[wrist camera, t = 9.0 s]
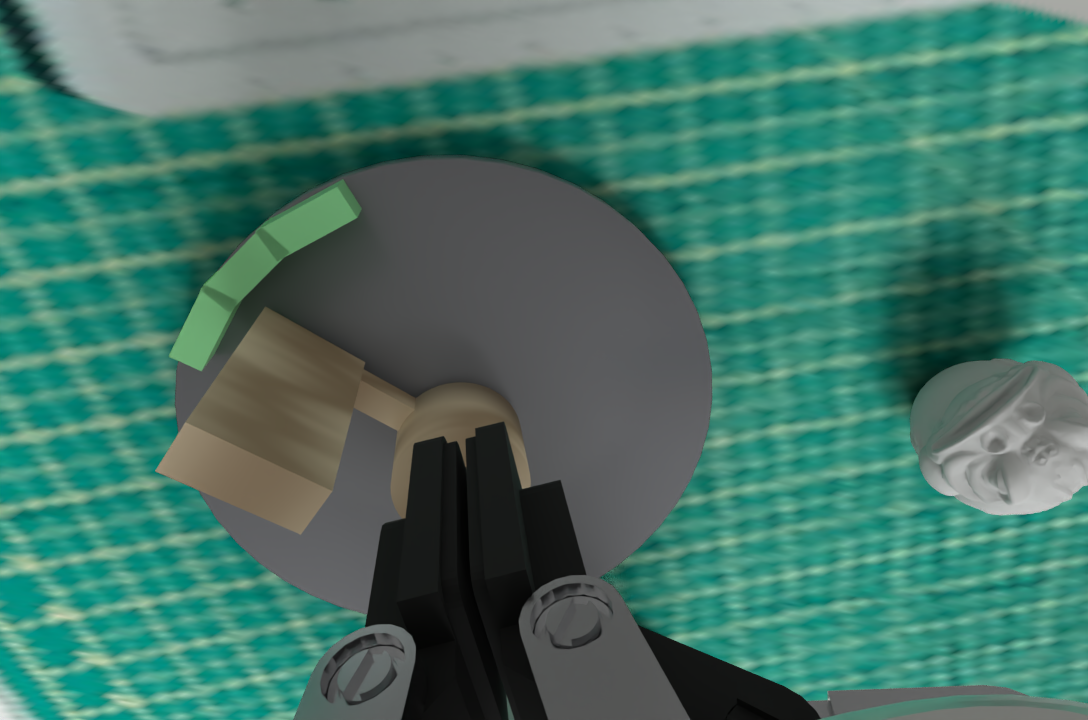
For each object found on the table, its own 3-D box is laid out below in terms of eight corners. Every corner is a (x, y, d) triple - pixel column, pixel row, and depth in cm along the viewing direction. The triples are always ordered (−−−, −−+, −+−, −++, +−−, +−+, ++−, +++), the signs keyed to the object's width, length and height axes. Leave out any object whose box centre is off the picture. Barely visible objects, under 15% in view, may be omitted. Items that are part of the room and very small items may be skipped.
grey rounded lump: (955, 287, 25) (1121, 366, 19) (1035, 385, 28) (1204, 483, 22) (833, 395, 27) (952, 501, 21) (921, 479, 29) (1049, 596, 23)
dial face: (600, 627, 31) (612, 670, 29) (161, 564, 26) (135, 611, 24) (784, 250, 24) (818, 270, 21) (227, 66, 19) (200, 69, 17)
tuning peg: (545, 420, 23) (581, 556, 17) (475, 505, 25) (485, 660, 18) (288, 269, 20) (216, 371, 14) (221, 376, 21) (127, 516, 15)
